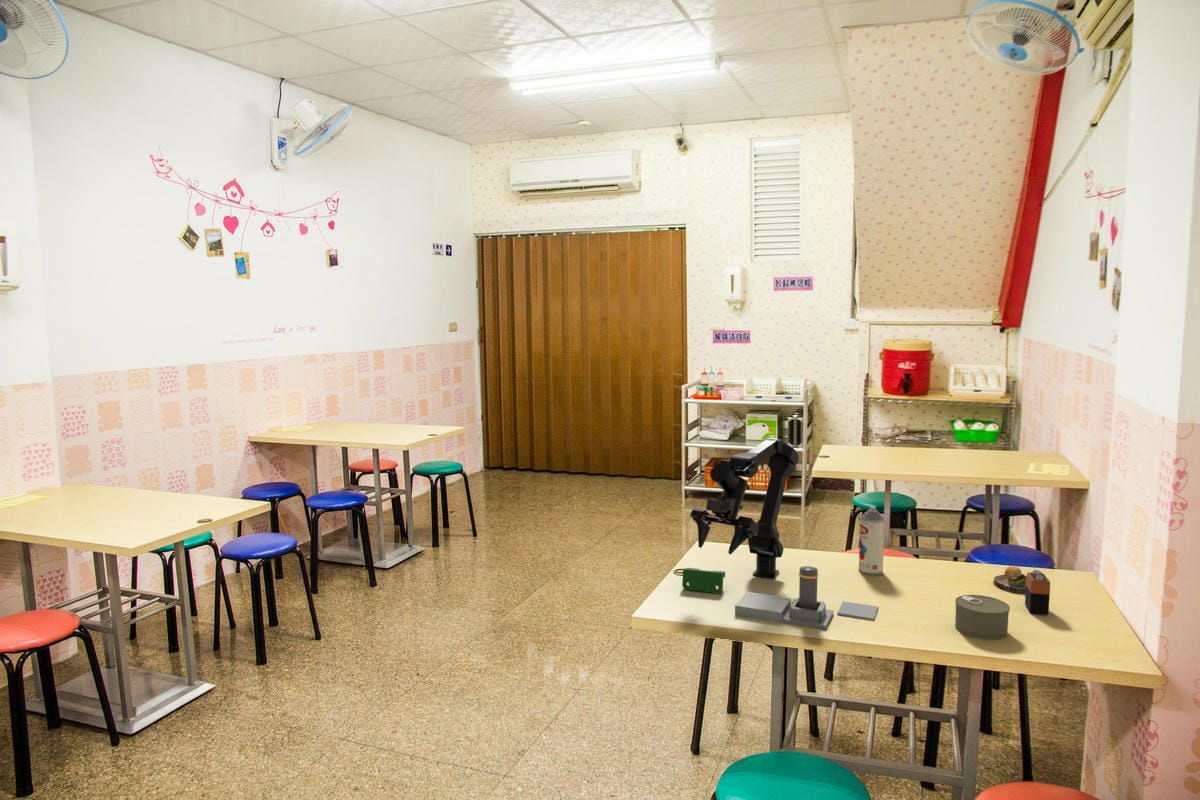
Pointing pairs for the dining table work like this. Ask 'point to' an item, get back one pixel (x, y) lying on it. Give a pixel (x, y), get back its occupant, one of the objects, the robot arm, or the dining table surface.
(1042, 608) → the battery
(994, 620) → the can
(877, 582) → the dining table surface
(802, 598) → the plug
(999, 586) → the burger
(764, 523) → the robot arm
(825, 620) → the socket block
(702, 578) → the clamp
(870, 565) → the aerosol can
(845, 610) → the mat
